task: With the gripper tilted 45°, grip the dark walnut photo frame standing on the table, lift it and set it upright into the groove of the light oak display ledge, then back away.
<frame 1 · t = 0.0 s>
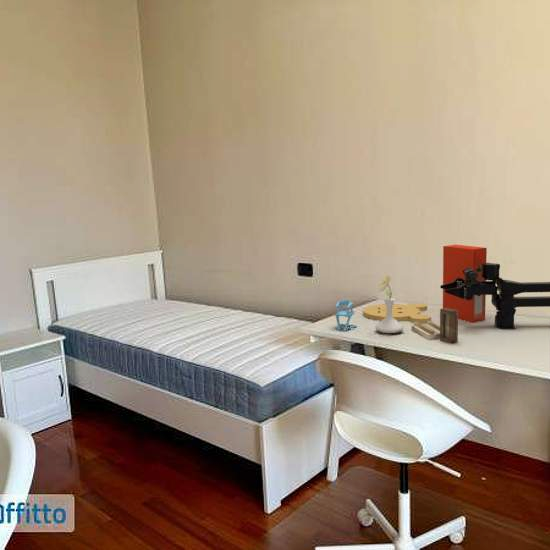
hand: (442, 288, 219), 17 cm above the table, tool horizontal, fingers open, 9 cm apart
chair: (344, 329, 225), on the table
oak display ledge: (430, 333, 213), on the table
decorative plaque: (395, 316, 246), on the table
flower in vase: (389, 332, 217), on the table
file binder: (463, 318, 236), on the table
walnut photo frame: (448, 341, 202), on the table
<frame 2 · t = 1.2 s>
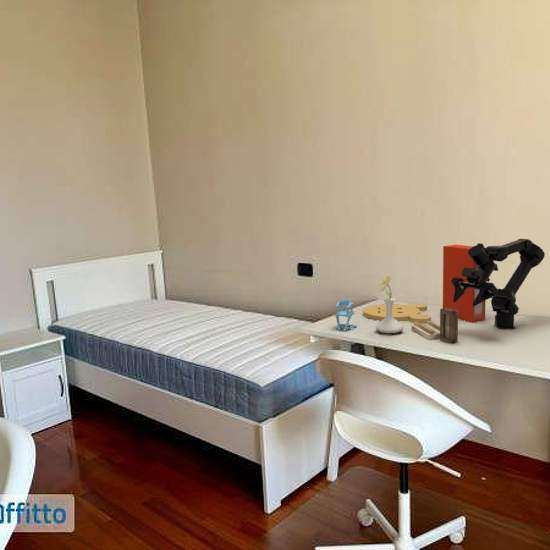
hand: (463, 303, 204), 14 cm above the table, tool tilted 45°, fingers open, 9 cm apart
nothing on the table moved.
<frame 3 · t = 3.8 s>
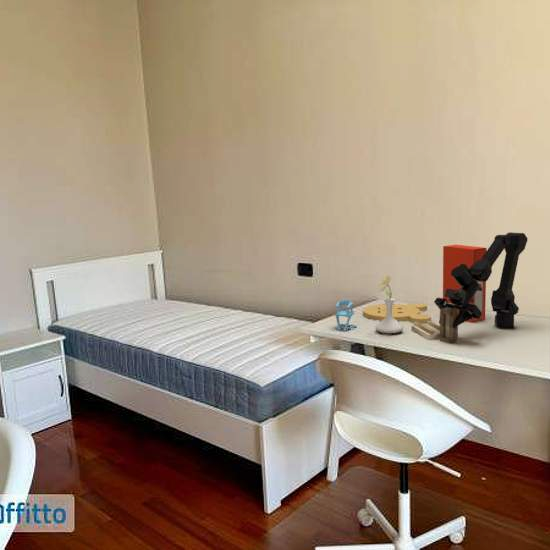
hand: (446, 325, 200), 7 cm above the table, tool tilted 45°, fingers closed on walnut photo frame, 6 cm apart
walnut photo frame: (448, 341, 202), on the table, touching gripper
everything else where it was.
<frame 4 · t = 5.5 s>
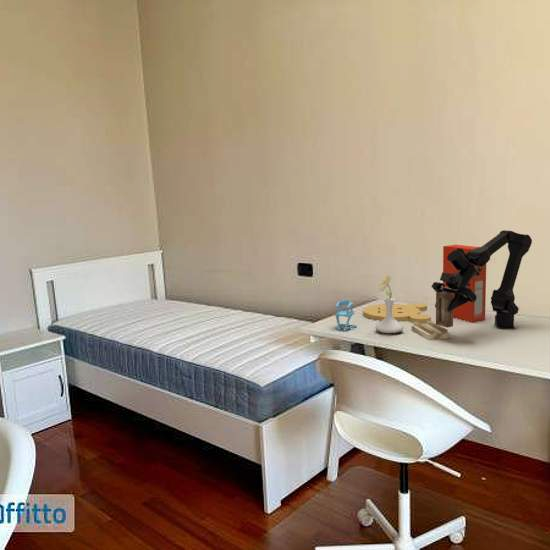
hand: (441, 309, 201), 12 cm above the table, tool tilted 45°, fingers closed on walnut photo frame, 6 cm apart
walnut photo frame: (444, 325, 203), point 6 cm above the table, touching gripper
everything else where it was.
when the fingers open (10 cm above the table, at t = 7.1 s): walnut photo frame drops 1 cm, resting on oak display ledge.
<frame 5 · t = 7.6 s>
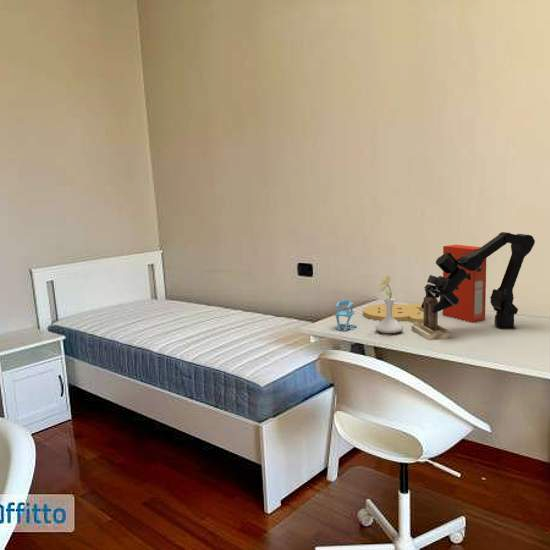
hand: (427, 310, 211), 10 cm above the table, tool tilted 45°, fingers open, 9 cm apart
walnut photo frame: (430, 329, 212), point 2 cm above the table, touching oak display ledge
everything else where it was.
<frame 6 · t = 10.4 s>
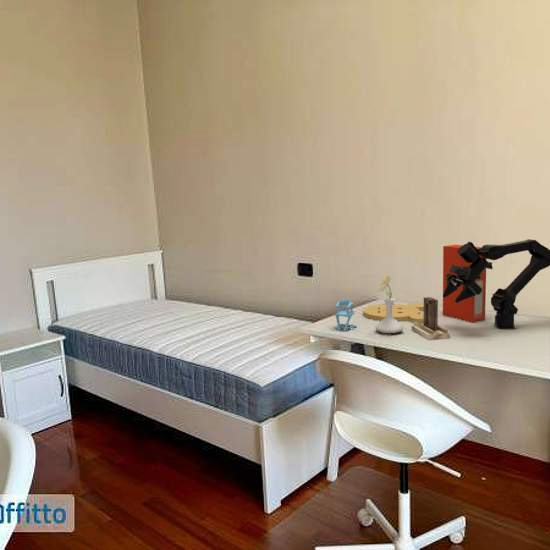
hand: (449, 299, 212), 14 cm above the table, tool tilted 45°, fingers open, 9 cm apart
nothing on the table moved.
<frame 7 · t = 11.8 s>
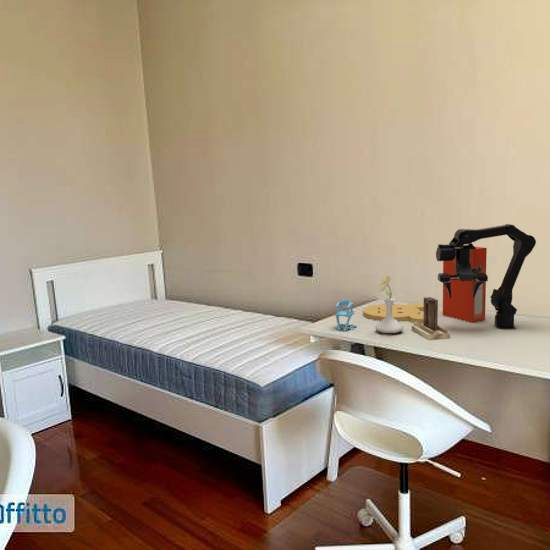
hand: (461, 297, 217), 13 cm above the table, tool pointing down, fingers open, 9 cm apart
nothing on the table moved.
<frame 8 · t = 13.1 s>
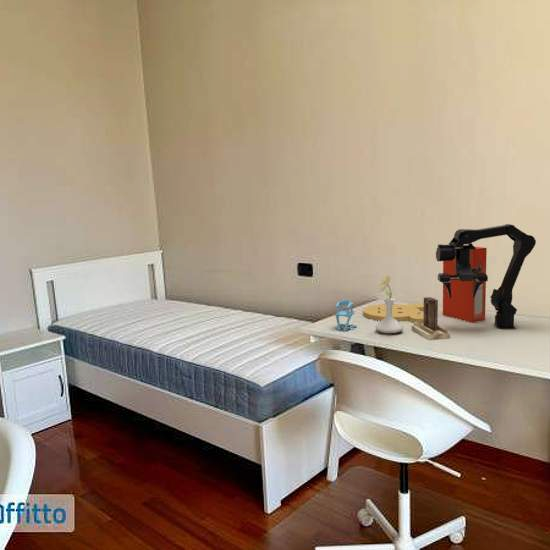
hand: (461, 297, 217), 13 cm above the table, tool pointing down, fingers open, 9 cm apart
nothing on the table moved.
at the end: walnut photo frame inside the target area on the oak display ledge (0.0 cm from its centre), point 2.0 cm above the oak display ledge's base; walnut photo frame tilted 0°; the gripper is holding nothing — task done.
